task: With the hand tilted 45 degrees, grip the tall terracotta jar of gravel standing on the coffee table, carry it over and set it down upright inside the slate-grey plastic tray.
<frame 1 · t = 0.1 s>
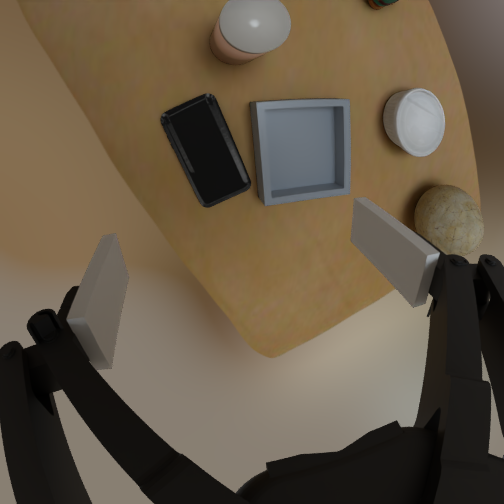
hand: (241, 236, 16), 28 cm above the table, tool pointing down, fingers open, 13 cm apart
phone: (206, 150, 41), on the table
tray: (297, 145, 42), on the table
fossilized egg: (424, 206, 53), on the table
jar: (236, 41, 33), on the table
ramekin: (402, 118, 43), on the table
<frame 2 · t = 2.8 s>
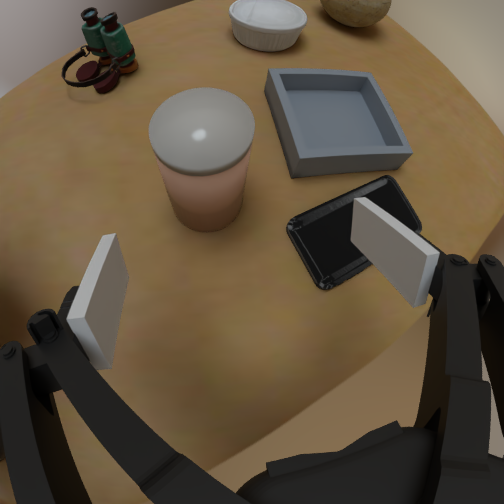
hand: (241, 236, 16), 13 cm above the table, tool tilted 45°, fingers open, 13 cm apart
phone: (358, 230, 32), on the table
binoculars: (104, 78, 34), on the table
tray: (331, 127, 34), on the table
fossilized egg: (344, 22, 43), on the table
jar: (206, 198, 30), on the table
ramekin: (263, 37, 39), on the table
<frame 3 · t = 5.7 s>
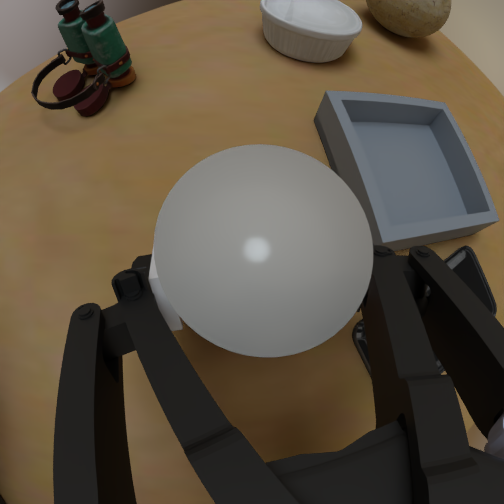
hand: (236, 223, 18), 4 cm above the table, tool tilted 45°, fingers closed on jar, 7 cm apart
phone: (432, 322, 22), on the table
binoculars: (89, 94, 25), on the table
tray: (402, 177, 25), on the table
fossilized egg: (391, 29, 34), on the table
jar: (242, 294, 21), on the table, touching gripper
ramekin: (302, 42, 30), on the table
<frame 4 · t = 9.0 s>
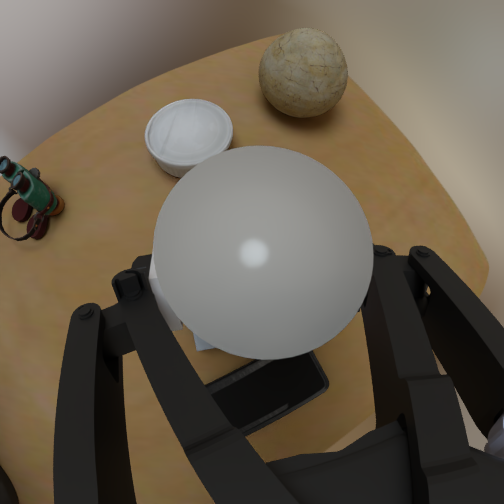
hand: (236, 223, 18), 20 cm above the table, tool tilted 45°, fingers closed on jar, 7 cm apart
phone: (261, 391, 34), on the table
binoculars: (37, 216, 36), on the table
fossilized egg: (292, 105, 45), on the table
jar: (242, 295, 21), point 15 cm above the table, touching gripper
ramekin: (190, 152, 41), on the table
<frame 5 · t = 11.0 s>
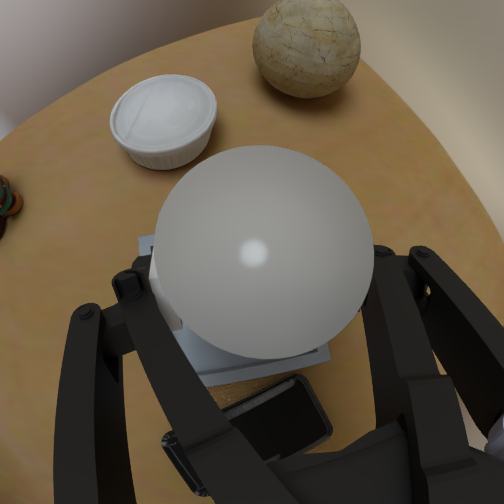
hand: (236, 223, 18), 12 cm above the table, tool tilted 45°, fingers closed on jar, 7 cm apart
phone: (247, 437, 25), on the table
tray: (230, 305, 28), on the table
fossilized egg: (294, 85, 37), on the table
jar: (243, 294, 21), point 8 cm above the table, touching gripper
ramekin: (168, 138, 33), on the table
when the fingers open (6 cm above the table, at t = 12.7 s): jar drops 1 cm, resting on tray.
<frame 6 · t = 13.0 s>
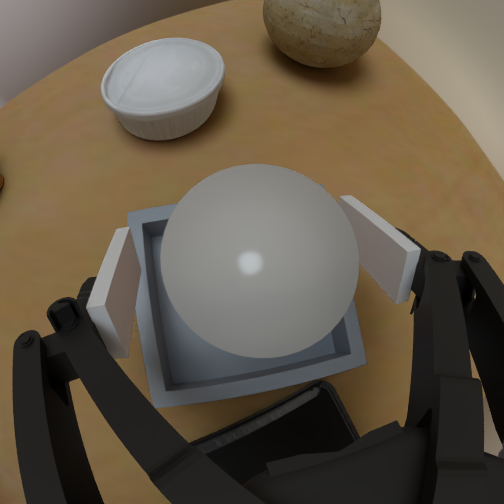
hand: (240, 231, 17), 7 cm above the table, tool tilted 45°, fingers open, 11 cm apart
phone: (261, 457, 20), on the table
tray: (241, 298, 23), on the table
fossilized egg: (308, 57, 32), on the table
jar: (241, 297, 22), point 1 cm above the table, touching tray
ramekin: (167, 108, 28), on the table
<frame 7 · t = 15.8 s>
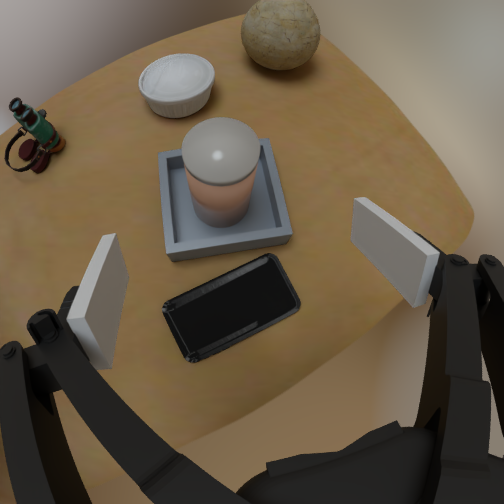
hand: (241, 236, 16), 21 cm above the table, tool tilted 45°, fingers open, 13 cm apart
phone: (231, 308, 36), on the table
binoculars: (40, 155, 39), on the table
tray: (221, 203, 39), on the table
fossilized egg: (274, 63, 47), on the table
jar: (221, 201, 38), point 1 cm above the table, touching tray
ramekin: (179, 98, 43), on the table
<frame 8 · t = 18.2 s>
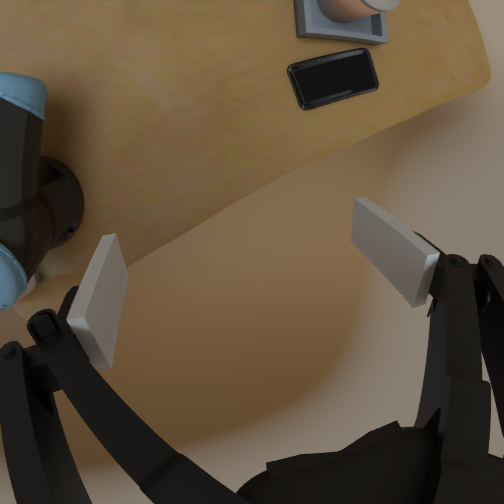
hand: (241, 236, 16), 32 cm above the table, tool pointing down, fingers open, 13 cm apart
phone: (333, 77, 42), on the table
tray: (335, 5, 35), on the table
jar: (337, 4, 34), point 1 cm above the table, touching tray
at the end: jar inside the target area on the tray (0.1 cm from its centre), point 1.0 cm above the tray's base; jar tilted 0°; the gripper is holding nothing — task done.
